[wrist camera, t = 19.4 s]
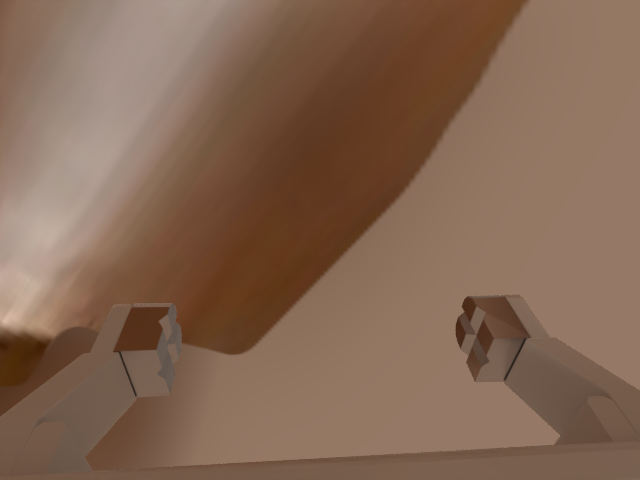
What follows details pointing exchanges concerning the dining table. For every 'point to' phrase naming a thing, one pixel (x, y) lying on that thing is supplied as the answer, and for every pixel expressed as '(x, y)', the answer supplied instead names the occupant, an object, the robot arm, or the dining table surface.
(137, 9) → the dining table surface
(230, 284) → the dining table surface
